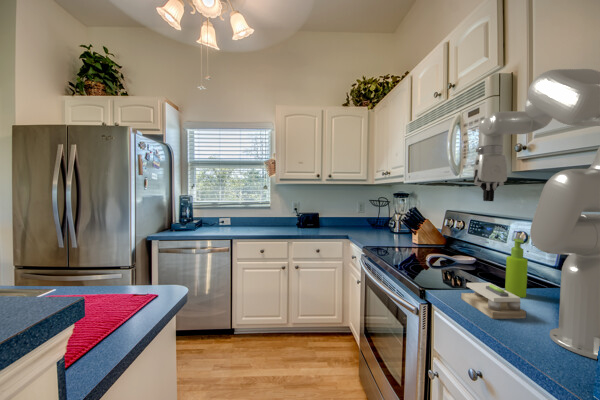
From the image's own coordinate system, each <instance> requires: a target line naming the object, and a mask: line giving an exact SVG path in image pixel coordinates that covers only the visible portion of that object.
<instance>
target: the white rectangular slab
mask: <svg viewBox="0 0 600 400" xmlns="http://www.w3.org/2000/svg"><path fill="white" fill-rule="evenodd" d="M466 287H467V288H469V289H471V290H472V291H474V292H475V291H476V292H477V293H479V294H481V295H483V296H484V297H486V298H488V299H490V300H491V301H493V302H520V303H521V298H520V297H518V296H516V295H514V294H512V293H510V292H508V291H506V290H505V288H502V287H500V286H497V285H496V284H493V283H491V282H466Z"/></svg>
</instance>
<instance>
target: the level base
mask: <svg viewBox="0 0 600 400" xmlns="http://www.w3.org/2000/svg"><path fill="white" fill-rule="evenodd" d="M460 299H461V300H462V301H464V302H465V303H467V304H468V305H470V306H471V307H473V308H475V309H476V310H478V311H480V312H481V313H482V314H484V315H485V316H487V317H489V318H490V319H494V320H498V319H500V320H502V319H504V320H505V319H526V317H527V316H526V314H527V311H525V310H524V309H522V308H521V301H520V302H493V301H491V300H490V299H488V298H486V297H484V296H483V295H481V294H479V293H477V292H476V291H474V292H461V295H460Z"/></svg>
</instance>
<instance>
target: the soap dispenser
mask: <svg viewBox="0 0 600 400" xmlns="http://www.w3.org/2000/svg"><path fill="white" fill-rule="evenodd" d="M513 241H514V246H513V247H511V250H510V255H508V256H506V262H505V284H504V285H505V286H504V290H506V291H508V292H510V293H512V294H514V295H516V296H518V297H520V299H524V298H527V287H528V285H527V284H528V266H529V265H528V263H529V262H528V260H529V259H528V258H525V257H524V248H522V247H521V246H522V245H521V244H525V242H524V240H523V239H522V238H513Z"/></svg>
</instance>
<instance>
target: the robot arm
mask: <svg viewBox="0 0 600 400" xmlns="http://www.w3.org/2000/svg"><path fill="white" fill-rule="evenodd" d="M552 120H555V121H557V122H559V123H562V124H565V125H566V126H573V127H584V126H585V127H590V126H591V127H595V126H596V127H598V126H599V127H600V71H598V70H596V69H590V68H567V69H566V68H562V69H561V68H559V69H550V70H547V71H545V72H542V73H541V74H539V75H538V76H537V77H535V78H534V80H532V82H531V83H530V85H529V87H528V90H527V99H526V101H525V103H524V111H521V110H520V111H517V110H516V111H496V112H493V113H491V114H490V115H489V116H488V117H486V118H483V119H481V120H480V121H479V123H478V144H477V145H478V146H477V147H478V148H475V153H477V155H476V158H475V160H474V165H473V181H474V183H473V184H474V186H478V187H480V188H481V191H483V192H482V194H483V195H482V198H483V200H482V201H483V202H494V200H495V199H494V198H495V191H496V190H497V188H498V187H501V186H504V185H505V182H507V180H508V167H507V165H508V163H507V158H506V155H505V154H504V153H503V152H504V151H503V150H504V135H527V134H530V133H533V132H537V131H538V130H541V129H545V128H546V127H547V126H549V124H550V123H551V122H552ZM597 213H599V214H597ZM529 230H530V232H529V233H530V239H531V242H532V244H533V246H534V248H537V250H540V252H543V253H547V254H551V255H567V257H566V258H565V260H564V262H563V265H562V267H561V274H560V291H559V292H560V293H559V312H558V327H556V328H552V329H550V330H549V338H550V339H551V341H553V342H554V343H556V344H557V345H559V346H560V347H562V348H564V349H566V350H568V351H571V352H572V353H574V354H577V355H580V356H584V357H585V358H586V357H587V358H590V359H593V360H597V356H598V351H599V346H600V146H599V147H598V148H597V150H596V153H595V156H594V159H593V161H592V163H591V165H590V167H588V168H570V169H564V170H560V171H559V172H556V173H554V174H553V175H552V176H551V177H550V178H549V179H548V180H547V181H546V182H545V184H544V186H543V188H542V191H541V194H540V197H539V200H538V203H537V206H536V209H535V212H534V215H533V218H532V222H531V224H530V229H529Z"/></svg>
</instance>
